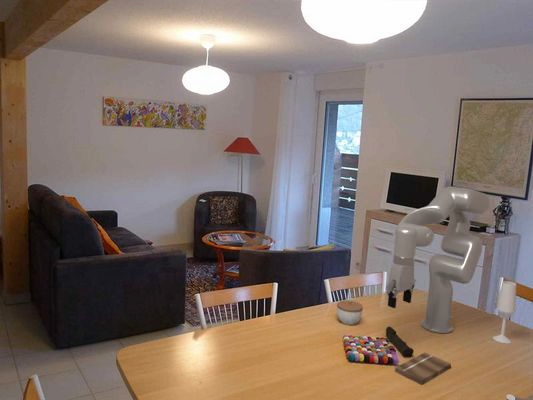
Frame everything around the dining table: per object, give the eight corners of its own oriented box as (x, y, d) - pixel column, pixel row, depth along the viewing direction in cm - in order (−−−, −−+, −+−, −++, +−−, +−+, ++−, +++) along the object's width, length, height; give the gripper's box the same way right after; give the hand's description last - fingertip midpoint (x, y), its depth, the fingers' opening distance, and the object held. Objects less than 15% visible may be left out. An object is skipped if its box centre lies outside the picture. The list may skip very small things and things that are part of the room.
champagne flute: (496, 334, 190) (503, 279, 187) (513, 340, 185) (521, 283, 182) (490, 338, 185) (497, 282, 182) (507, 344, 181) (515, 286, 177)
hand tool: (413, 358, 165) (414, 346, 165) (402, 358, 165) (404, 346, 164) (392, 335, 184) (393, 324, 183) (383, 335, 183) (384, 324, 183)
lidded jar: (366, 323, 194) (368, 302, 192) (350, 329, 187) (352, 307, 185) (346, 315, 202) (348, 295, 200) (330, 320, 195) (332, 299, 193)
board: (424, 356, 167) (425, 352, 167) (450, 367, 160) (451, 363, 159) (394, 371, 155) (395, 367, 154) (421, 384, 147) (422, 380, 147)
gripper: (408, 255, 177) (404, 297, 180) (381, 261, 166) (377, 305, 169) (425, 259, 171) (420, 303, 174) (398, 266, 160) (394, 312, 163)
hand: (399, 304), depth 171 cm, fingers open, 9 cm apart
